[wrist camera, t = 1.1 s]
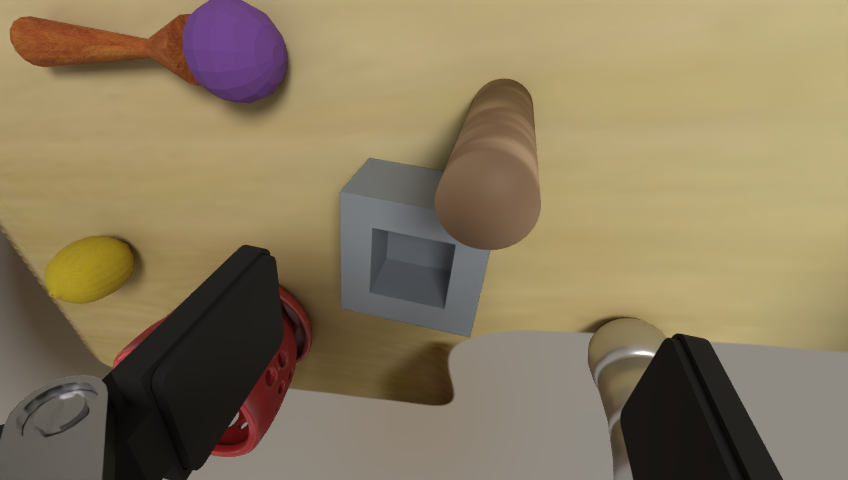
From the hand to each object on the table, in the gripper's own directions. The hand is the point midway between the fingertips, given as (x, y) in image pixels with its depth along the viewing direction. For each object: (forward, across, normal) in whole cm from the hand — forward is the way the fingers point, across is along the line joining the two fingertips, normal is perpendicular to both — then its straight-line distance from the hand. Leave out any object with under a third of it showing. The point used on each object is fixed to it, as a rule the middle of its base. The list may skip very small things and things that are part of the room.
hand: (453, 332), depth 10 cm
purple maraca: (+22, +24, -1) cm, 32 cm away
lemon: (+22, +34, +19) cm, 44 cm away
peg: (+21, 0, 0) cm, 21 cm away
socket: (+21, +3, +10) cm, 23 cm away
